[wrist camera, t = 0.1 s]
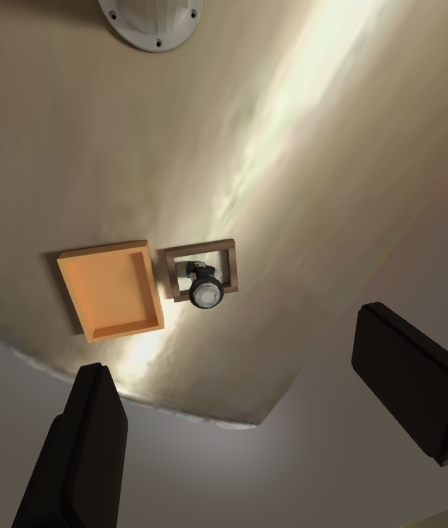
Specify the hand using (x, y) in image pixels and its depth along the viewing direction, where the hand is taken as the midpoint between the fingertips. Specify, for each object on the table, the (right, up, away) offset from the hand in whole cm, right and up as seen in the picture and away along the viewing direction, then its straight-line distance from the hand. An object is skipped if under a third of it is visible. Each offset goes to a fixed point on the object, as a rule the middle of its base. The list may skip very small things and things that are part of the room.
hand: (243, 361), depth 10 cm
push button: (-5, +3, +39) cm, 40 cm away
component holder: (-5, +3, +39) cm, 39 cm away
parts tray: (-19, -1, +37) cm, 42 cm away
